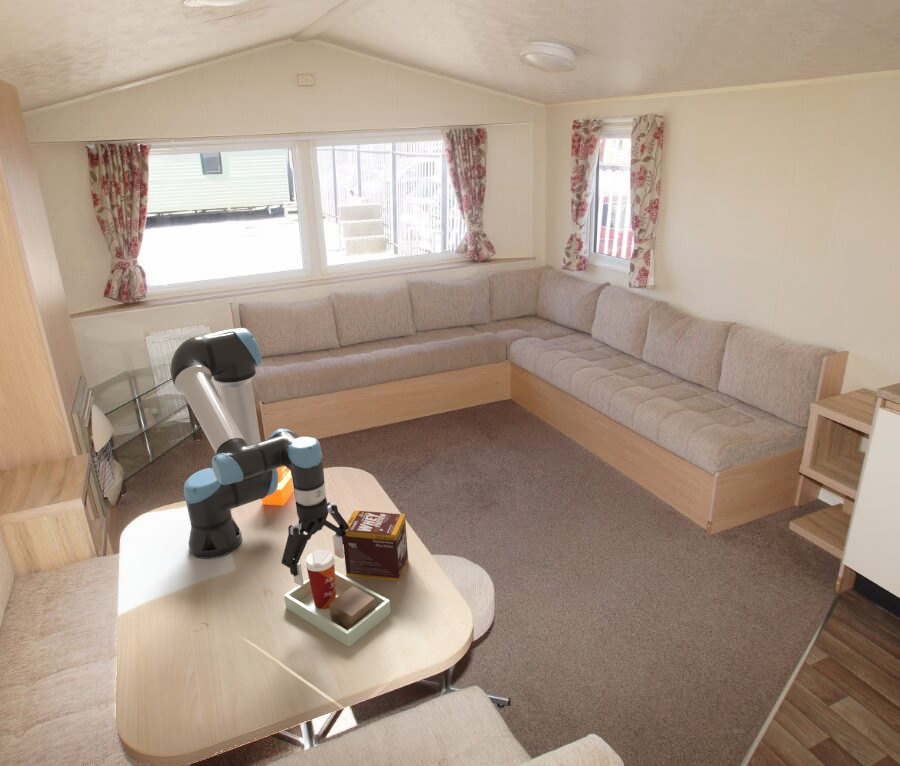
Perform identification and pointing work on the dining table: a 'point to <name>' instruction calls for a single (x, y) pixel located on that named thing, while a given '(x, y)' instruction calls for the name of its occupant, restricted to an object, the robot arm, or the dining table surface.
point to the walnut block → (351, 607)
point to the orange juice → (281, 488)
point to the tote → (305, 607)
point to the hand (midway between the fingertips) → (319, 569)
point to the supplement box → (376, 545)
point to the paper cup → (321, 577)
